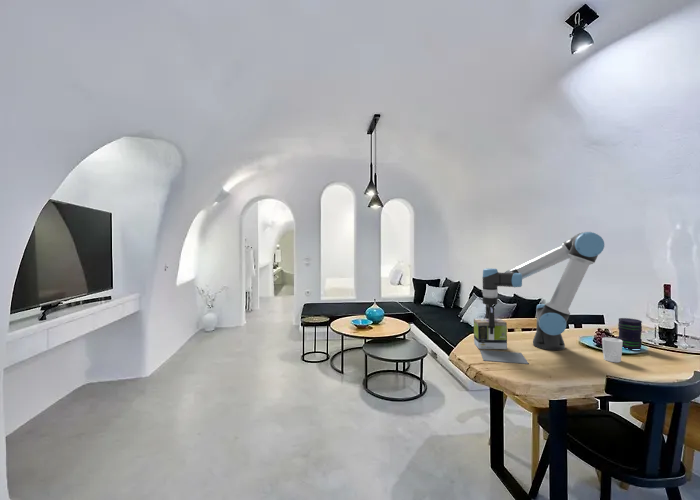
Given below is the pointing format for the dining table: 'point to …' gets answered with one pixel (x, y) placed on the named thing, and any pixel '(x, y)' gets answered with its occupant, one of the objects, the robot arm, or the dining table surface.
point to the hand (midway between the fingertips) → (489, 336)
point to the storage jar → (630, 333)
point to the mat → (503, 356)
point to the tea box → (483, 334)
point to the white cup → (612, 349)
